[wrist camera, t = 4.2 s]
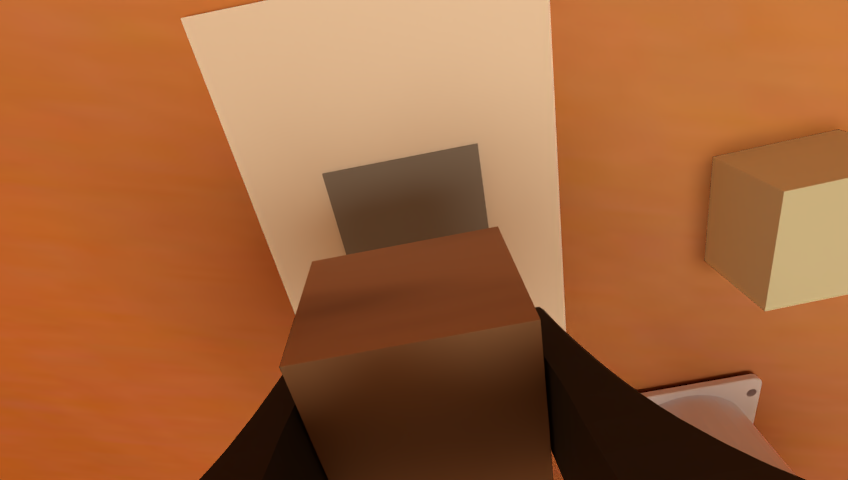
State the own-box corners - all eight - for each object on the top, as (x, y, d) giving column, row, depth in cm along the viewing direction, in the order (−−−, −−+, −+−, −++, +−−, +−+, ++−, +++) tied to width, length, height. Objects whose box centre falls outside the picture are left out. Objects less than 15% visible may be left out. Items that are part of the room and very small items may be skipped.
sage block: (813, 236, 21) (898, 284, 17) (702, 259, 21) (765, 311, 18) (835, 128, 19) (938, 158, 15) (710, 155, 19) (784, 191, 15)
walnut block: (514, 367, 15) (553, 486, 11) (358, 395, 15) (346, 522, 11) (497, 226, 12) (540, 319, 9) (311, 261, 12) (279, 367, 9)
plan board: (565, 359, 23) (568, 366, 23) (332, 401, 24) (330, 409, 23) (543, -58, 15) (547, -59, 15) (185, 18, 15) (179, 18, 15)
